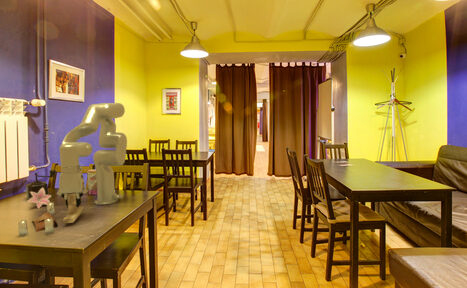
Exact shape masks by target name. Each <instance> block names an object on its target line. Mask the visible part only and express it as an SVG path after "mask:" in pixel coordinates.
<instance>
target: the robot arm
mask: <svg viewBox="0 0 467 288" xmlns="http://www.w3.org/2000/svg"><path fill="white" fill-rule="evenodd" d="M125 110H126V109H125V106H124V105H123V103H120V102H103V103H102V102H101V103H93V104H90V105H89V106H88V107H87V110H86V111H85V113H84V116H83V118H82V119H81V122H80V124H78V125H77V126H76V127H74V128H73V129H71V130H70V131H68V132H67V134H66V135H65V136H64V138H63V140H62V142H61V145H60V146H59V159H60V170H61V173H60V174H59V179H58V180H59V182H58V184H59V185H58V188H59V189H58V190H57V192H56V195H58V196H60V197H61V198H63V199H64V201H65V206H66V208H67V209H68V198H67V194H68V193H76V196H77V199H76V206H77V207H81V204H82V199H81V198H82V197H83V196H84V195H86V194H88V188H87V187H86V184H85V178H84V174H83V172H82V171H83V169H84V168H83V166H80V159H79V158H85V157H89V156H90V155H92V152H93V146H92V144H91V143H90V142H86V141H84V142H83V141H79V140H80V139H82V138H84V137H87V136H91V135H92V134H94V133H97V131H98V129H99V126H100V131H99V137H98V145H99V147H100V148H102V149H100V150H97V151H96V152H94V154H93V157H92V158H93V163H94V167H95V170H96V179H97V195H96V196H97V197H96V198H97V199H95V200H94V204H95V205H99V206H102V205H111V204H115V203H116V202H118V201H119V199H123V195H122V194H117V192H116V191H115V173H114V170H113V168H112V167H114V166H115V167H120V166H123V165H124V164H125V161H126V156H127V155H126V154H127V147H128V138H127V136H126V134H125V133H123V132H116V130H117V124H116V123H115V121H114V120H113V119H119V118H122V117H123V116H124V114H125V112H126V111H125Z"/></svg>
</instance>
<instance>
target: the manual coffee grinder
mask: <svg viewBox="0 0 467 288" xmlns="http://www.w3.org/2000/svg"><path fill="white" fill-rule="evenodd" d="M56 174H57V170H56V169H50V170H49V175H38V172H35V173H34V177H35V180H34V181H32V182H30V183H25V186H26V188H25V189H26V199H27V201H28V200H29V199H30V198H32V197H33V196H32V194H31V193H30V192H35V193H38V192H39V190H40V189H41V188H44V190H45V195H49V189H48V183H47V182H46V181H41V180H39V179H38V177H39V178H51V179H52V178H53V177H55V175H56Z"/></svg>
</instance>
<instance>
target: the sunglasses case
mask: <svg viewBox="0 0 467 288" xmlns="http://www.w3.org/2000/svg"><path fill="white" fill-rule="evenodd" d="M48 218H53V229H55V228H58V227H59V226H58V225H59V224H58V223H57V222H58V221H57V220H56V219H55V217H54V215H51V214H50V213H49V212H48V211H46V212H44V213H43V214H42V215H41V216H38V217H36V218H35V219H33V220H32V221H31V223H32V224H33V226H34V228H35V232H36V233H37V232H41V231H45V221H44V220H45V219H48Z"/></svg>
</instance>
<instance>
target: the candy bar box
mask: <svg viewBox="0 0 467 288" xmlns="http://www.w3.org/2000/svg"><path fill="white" fill-rule="evenodd" d="M86 174H87V190H88V192H87V195H88V196H91V195H92V196H97V179H96V169H89V170H87V171H86Z"/></svg>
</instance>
